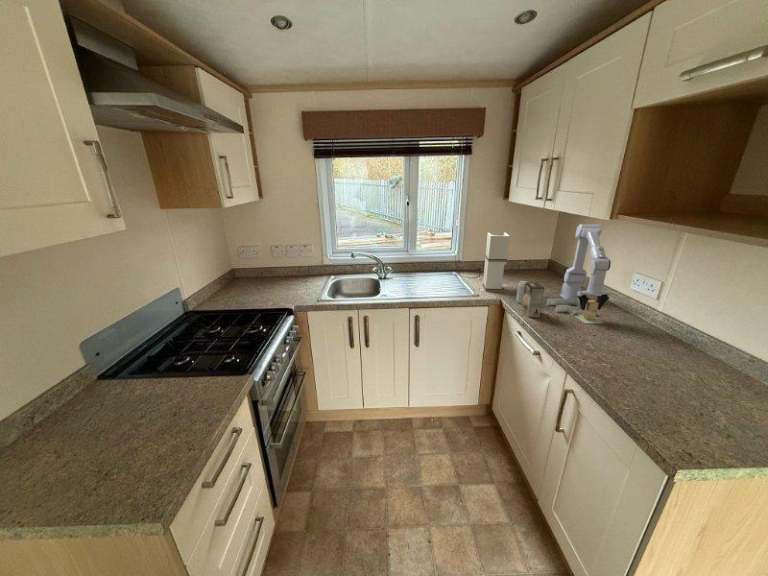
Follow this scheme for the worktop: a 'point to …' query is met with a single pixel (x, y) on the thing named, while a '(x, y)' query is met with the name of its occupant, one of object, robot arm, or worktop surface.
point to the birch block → (590, 310)
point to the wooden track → (564, 304)
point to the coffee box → (532, 299)
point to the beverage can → (520, 292)
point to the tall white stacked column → (495, 262)
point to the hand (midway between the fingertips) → (590, 309)
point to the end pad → (589, 320)
